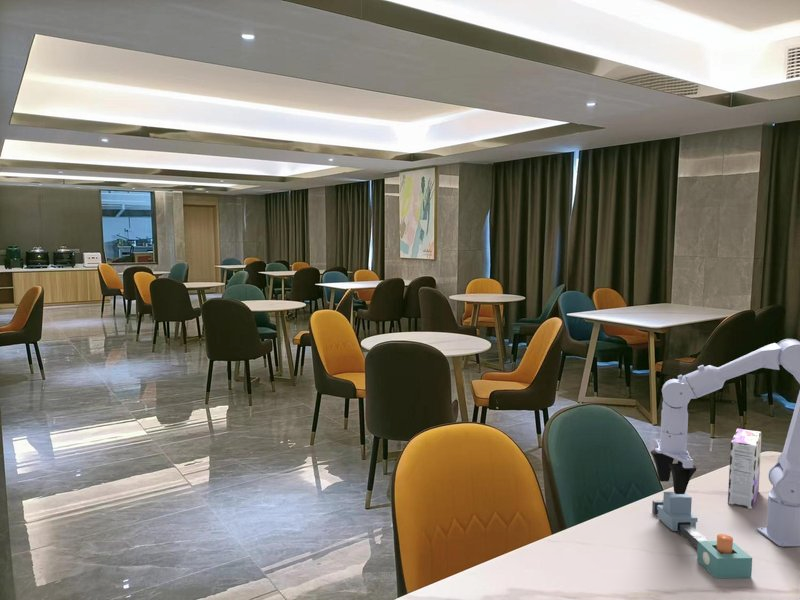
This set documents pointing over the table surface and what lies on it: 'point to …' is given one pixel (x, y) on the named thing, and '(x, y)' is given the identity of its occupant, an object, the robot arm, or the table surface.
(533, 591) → the table surface
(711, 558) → the teal button housing
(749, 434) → the candy box
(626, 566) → the table surface
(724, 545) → the plunger
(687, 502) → the carriage
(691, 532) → the rail
